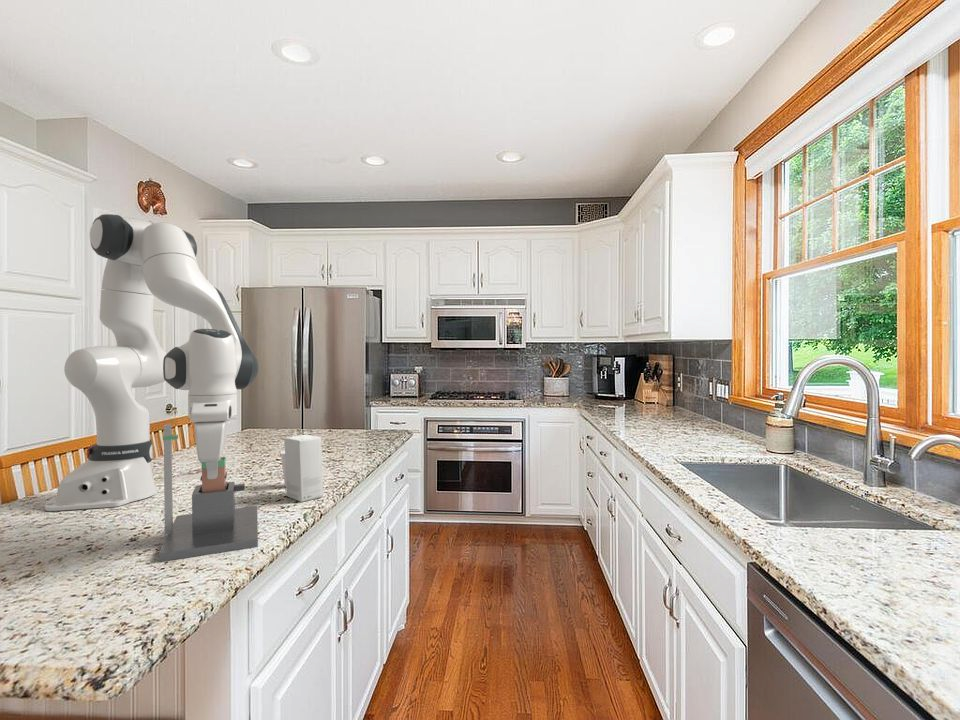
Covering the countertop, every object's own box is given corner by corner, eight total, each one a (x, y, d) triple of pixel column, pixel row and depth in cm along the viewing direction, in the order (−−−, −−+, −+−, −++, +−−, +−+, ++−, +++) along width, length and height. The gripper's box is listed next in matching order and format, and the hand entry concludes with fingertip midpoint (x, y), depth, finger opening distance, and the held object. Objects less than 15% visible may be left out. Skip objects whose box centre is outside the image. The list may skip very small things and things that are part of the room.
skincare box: (323, 497, 124) (323, 437, 124) (299, 503, 119) (298, 440, 119) (308, 491, 129) (307, 433, 129) (284, 496, 125) (283, 436, 124)
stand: (154, 562, 85) (152, 433, 85) (173, 523, 105) (172, 418, 105) (257, 546, 92) (256, 427, 92) (257, 512, 112) (256, 414, 112)
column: (200, 524, 96) (200, 462, 96) (202, 518, 100) (202, 458, 100) (226, 521, 98) (226, 460, 98) (227, 515, 102) (227, 456, 102)
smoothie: (308, 483, 137) (308, 434, 137) (297, 489, 131) (297, 438, 130) (287, 482, 138) (286, 434, 137) (275, 489, 131) (274, 438, 131)
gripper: (200, 403, 107) (201, 465, 107) (189, 414, 88) (189, 489, 88) (232, 402, 109) (232, 463, 109) (228, 412, 91) (228, 485, 91)
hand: (213, 475), depth 99 cm, fingers closed on column, 4 cm apart
